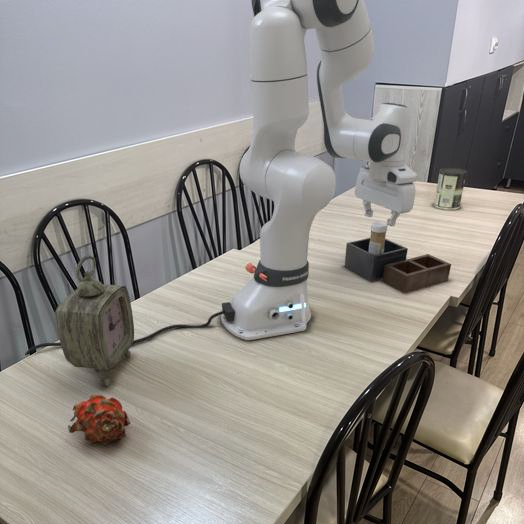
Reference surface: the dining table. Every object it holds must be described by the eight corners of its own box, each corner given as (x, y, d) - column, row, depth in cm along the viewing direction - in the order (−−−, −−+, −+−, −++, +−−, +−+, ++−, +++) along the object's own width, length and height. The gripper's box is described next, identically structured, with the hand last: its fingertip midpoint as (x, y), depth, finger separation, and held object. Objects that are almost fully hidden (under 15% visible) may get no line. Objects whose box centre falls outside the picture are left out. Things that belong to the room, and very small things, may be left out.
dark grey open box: (371, 281, 143) (374, 256, 139) (344, 266, 152) (346, 242, 148) (403, 273, 148) (407, 248, 144) (376, 259, 157) (378, 235, 153)
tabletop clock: (110, 392, 99) (86, 274, 86) (68, 387, 100) (38, 271, 87) (138, 353, 111) (121, 244, 98) (100, 349, 112) (78, 242, 99)
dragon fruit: (126, 460, 85) (84, 440, 92) (149, 414, 88) (106, 398, 95) (91, 444, 79) (48, 424, 86) (117, 395, 81) (73, 379, 88)
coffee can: (455, 202, 209) (462, 167, 202) (463, 210, 200) (471, 173, 193) (430, 202, 209) (436, 167, 202) (437, 210, 201) (444, 173, 193)
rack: (404, 293, 136) (407, 276, 134) (382, 281, 143) (384, 264, 140) (447, 280, 143) (451, 264, 141) (424, 269, 150) (427, 253, 147)
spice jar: (385, 268, 149) (391, 224, 142) (373, 272, 147) (379, 227, 140) (374, 263, 152) (379, 220, 145) (362, 267, 150) (367, 222, 143)
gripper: (352, 163, 141) (347, 212, 148) (403, 179, 126) (395, 232, 133) (369, 161, 144) (364, 210, 151) (422, 176, 129) (413, 229, 136)
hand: (379, 220), depth 142 cm, fingers open, 8 cm apart
